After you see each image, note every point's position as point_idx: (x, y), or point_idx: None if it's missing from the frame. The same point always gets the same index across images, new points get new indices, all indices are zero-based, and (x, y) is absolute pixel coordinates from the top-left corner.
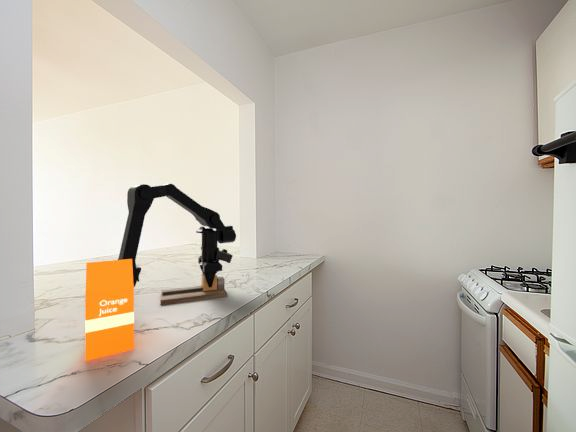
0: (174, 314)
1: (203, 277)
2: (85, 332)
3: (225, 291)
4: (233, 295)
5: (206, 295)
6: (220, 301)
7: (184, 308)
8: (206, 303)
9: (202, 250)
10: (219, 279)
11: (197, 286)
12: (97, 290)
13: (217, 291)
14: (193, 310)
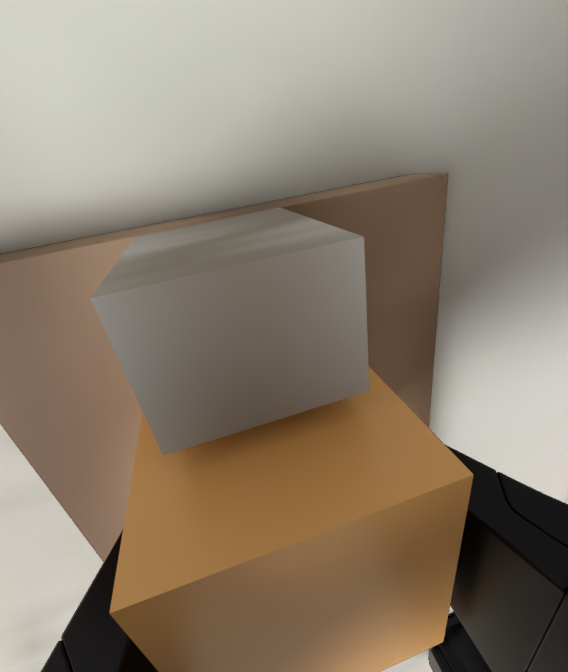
0: (553, 474)
1: (437, 632)
2: None
3: (405, 194)
4: (409, 67)
5: (427, 395)
6: (517, 250)
7: (507, 460)
8: (499, 359)
9: None
10: (365, 360)
11: (103, 549)
12: None
13: (369, 305)
14: (562, 409)
